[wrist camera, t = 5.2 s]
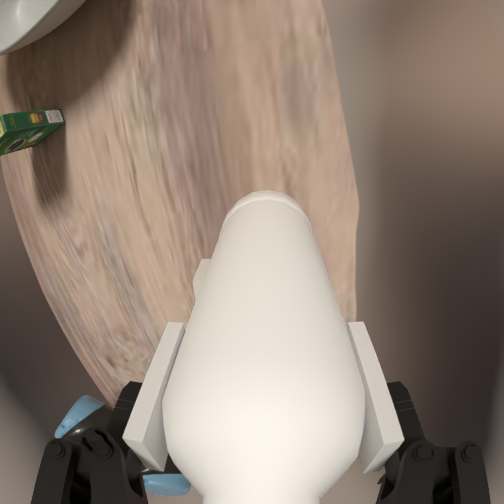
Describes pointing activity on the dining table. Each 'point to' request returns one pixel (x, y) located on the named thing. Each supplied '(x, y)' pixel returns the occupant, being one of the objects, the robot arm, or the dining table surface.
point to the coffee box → (27, 128)
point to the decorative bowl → (31, 20)
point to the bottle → (265, 367)
